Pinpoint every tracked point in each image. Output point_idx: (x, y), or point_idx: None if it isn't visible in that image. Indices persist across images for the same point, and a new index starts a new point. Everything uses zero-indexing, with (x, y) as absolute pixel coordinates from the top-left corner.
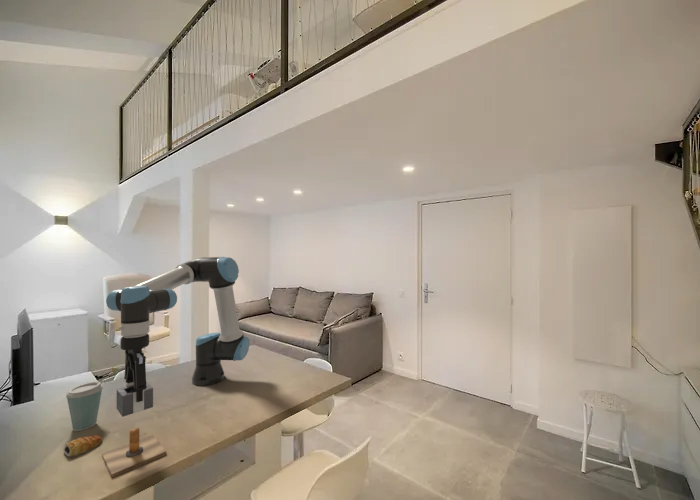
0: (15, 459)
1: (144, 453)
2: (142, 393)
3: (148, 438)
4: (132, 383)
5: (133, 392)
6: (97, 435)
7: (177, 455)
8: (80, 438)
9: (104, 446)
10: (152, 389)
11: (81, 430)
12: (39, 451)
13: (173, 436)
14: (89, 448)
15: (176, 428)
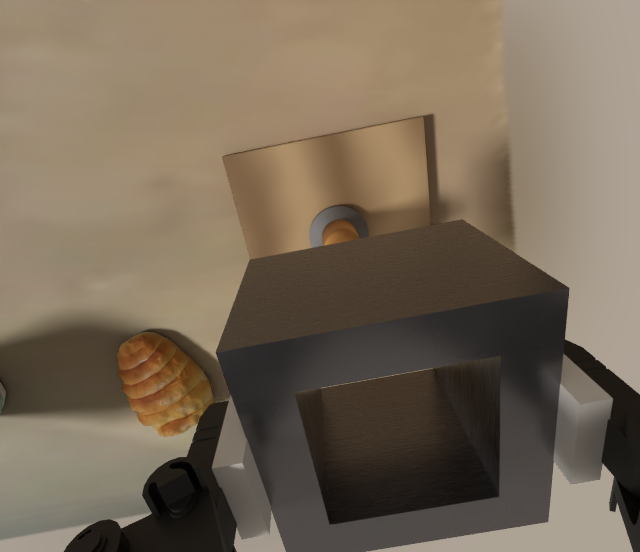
0: (134, 501)
1: (375, 200)
2: (631, 390)
3: (249, 178)
4: (254, 487)
5: (583, 473)
6: (127, 357)
7: (463, 72)
8: (148, 407)
9: (191, 320)
10: (558, 288)
11: (5, 394)
12: (114, 467)
13: (272, 63)
14: (191, 362)
15: (188, 33)
